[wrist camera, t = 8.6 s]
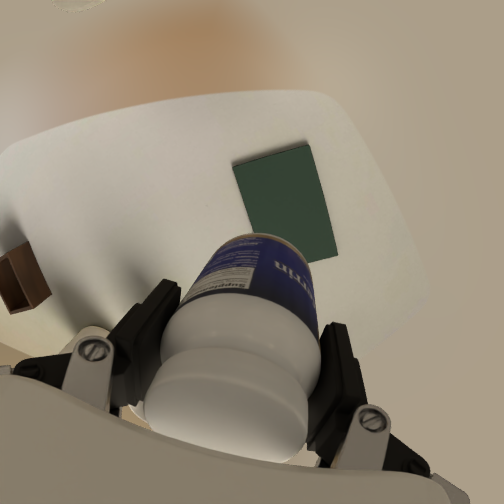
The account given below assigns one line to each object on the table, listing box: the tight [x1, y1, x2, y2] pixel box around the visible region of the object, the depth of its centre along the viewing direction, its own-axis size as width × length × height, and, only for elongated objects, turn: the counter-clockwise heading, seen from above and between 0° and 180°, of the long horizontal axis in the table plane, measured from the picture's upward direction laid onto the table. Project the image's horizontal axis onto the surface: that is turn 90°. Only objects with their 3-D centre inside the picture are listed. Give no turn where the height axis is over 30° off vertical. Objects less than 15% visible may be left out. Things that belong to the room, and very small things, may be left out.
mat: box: [232, 145, 338, 263], centre depth 30 cm, size 12×8×1 cm, turn 18°
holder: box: [0, 241, 52, 315], centre depth 37 cm, size 10×10×5 cm
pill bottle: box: [143, 233, 321, 463], centre depth 11 cm, size 6×6×10 cm
